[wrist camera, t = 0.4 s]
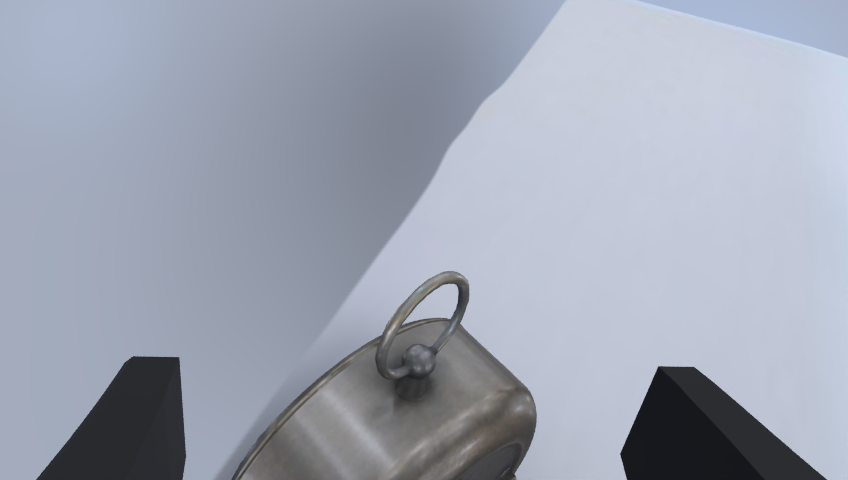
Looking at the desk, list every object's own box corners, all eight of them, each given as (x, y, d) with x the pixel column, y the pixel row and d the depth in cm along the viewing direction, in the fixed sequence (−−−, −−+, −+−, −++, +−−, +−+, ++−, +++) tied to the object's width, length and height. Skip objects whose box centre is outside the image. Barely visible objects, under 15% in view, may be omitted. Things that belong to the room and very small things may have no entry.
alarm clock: (434, 442, 32) (499, 157, 21) (520, 531, 29) (645, 256, 18) (223, 604, 26) (164, 319, 15) (308, 734, 23) (309, 502, 12)
